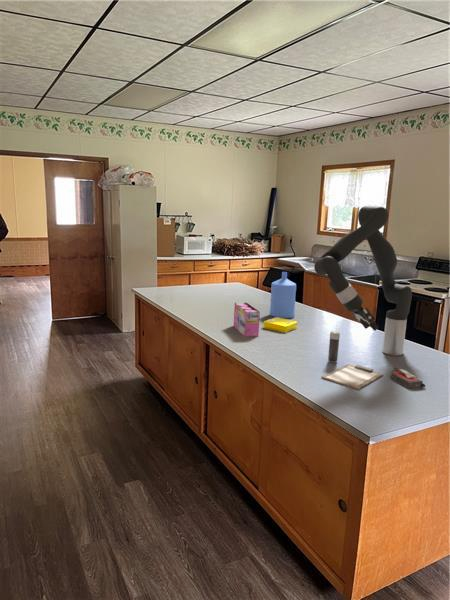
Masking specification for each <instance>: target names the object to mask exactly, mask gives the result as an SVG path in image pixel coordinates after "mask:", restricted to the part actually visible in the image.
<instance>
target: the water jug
mask: <svg viewBox="0 0 450 600" xmlns="http://www.w3.org/2000/svg"><path fill="white" fill-rule="evenodd" d="M270 291H271V292H270V308H269V316H271V317H272V316H273V317H272V318H275V317H278V318H283V319H291V318H294V317H295V313H296V312H295V308H296V292H297V283H295V282H293V281H291V280H290V279H288V272H287V271H282V272H281V278H280V279H277V280H275V281H273V282H272V283H271V287H270Z"/></svg>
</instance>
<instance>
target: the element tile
mask: <svg viewBox="0 0 450 600" xmlns="http://www.w3.org/2000/svg"><path fill="white" fill-rule="evenodd" d="M262 325H263V329H264V330H269V331H274V332H277V331H278V332H279V333H283V334H285V333H290V332H291V331H294V330H296V329H297V328H298V321H296V320H294V319H293V320H292V319H289V318H278V317H272V318H269V319H267V320H264V321H263V324H262Z"/></svg>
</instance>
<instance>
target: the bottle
mask: <svg viewBox="0 0 450 600" xmlns="http://www.w3.org/2000/svg"><path fill="white" fill-rule="evenodd" d="M340 338H341V333H340V332H339V331H334V330H333V331H329V344H328V345H329V346H328V355H327V356H328V357H327V359H328V360H327V361H328V363H329V364H337V362H338V356H339V346H340V345H339V344H340Z"/></svg>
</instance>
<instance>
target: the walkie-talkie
mask: <svg viewBox="0 0 450 600" xmlns="http://www.w3.org/2000/svg"><path fill="white" fill-rule="evenodd" d="M393 370H394V371H392V372H391V374H390V380H391V379H392V380H393V381H394V382H396V383H399V384H400V385H402V386H404V387H406V388H407V389H411V390H412V389H421V388H426V384H425V383H423V380H421V379H419V378H417V377H416V375H414V374H412V373H410V372H409V371H407V370H405V369H403V368H402V369H399V368H397V367H395V366H394V367H393Z"/></svg>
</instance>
